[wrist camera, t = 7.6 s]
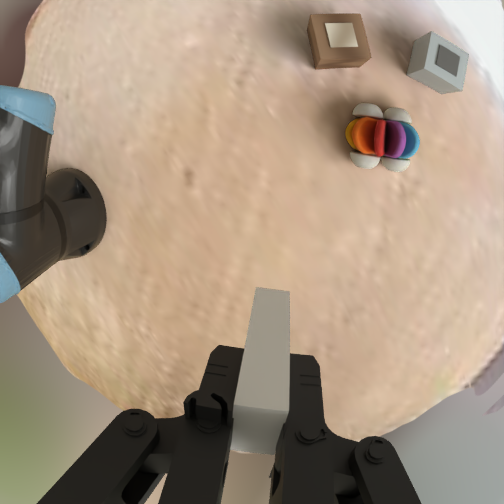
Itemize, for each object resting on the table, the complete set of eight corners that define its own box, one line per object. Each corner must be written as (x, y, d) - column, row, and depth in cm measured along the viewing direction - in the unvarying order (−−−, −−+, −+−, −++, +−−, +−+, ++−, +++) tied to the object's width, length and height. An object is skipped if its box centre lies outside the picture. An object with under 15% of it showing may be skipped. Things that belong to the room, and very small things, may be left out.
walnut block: (315, 69, 33) (320, 58, 27) (306, 30, 31) (310, 14, 25) (359, 67, 32) (371, 57, 26) (350, 28, 30) (360, 13, 24)
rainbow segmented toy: (343, 102, 34) (356, 96, 28) (410, 112, 33) (433, 110, 27) (341, 164, 37) (353, 171, 31) (406, 171, 37) (429, 180, 30)
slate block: (406, 75, 31) (424, 68, 26) (413, 41, 29) (432, 30, 23) (441, 94, 31) (463, 90, 26) (448, 60, 29) (469, 53, 23)
